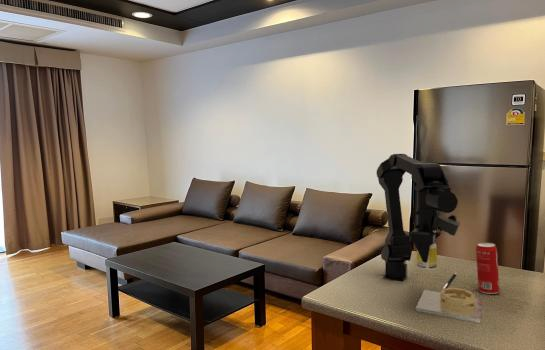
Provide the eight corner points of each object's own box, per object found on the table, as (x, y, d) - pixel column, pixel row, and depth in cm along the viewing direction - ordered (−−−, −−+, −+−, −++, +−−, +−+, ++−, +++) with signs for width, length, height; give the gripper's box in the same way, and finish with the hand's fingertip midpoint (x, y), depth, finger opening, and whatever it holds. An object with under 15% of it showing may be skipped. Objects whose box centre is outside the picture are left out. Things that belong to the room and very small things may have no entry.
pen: (441, 292, 122) (441, 289, 122) (454, 274, 137) (454, 271, 137) (444, 293, 122) (444, 289, 122) (457, 274, 137) (457, 271, 137)
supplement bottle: (436, 265, 116) (436, 233, 115) (437, 271, 111) (437, 237, 110) (416, 264, 118) (417, 232, 117) (416, 270, 113) (416, 236, 112)
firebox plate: (415, 310, 109) (416, 296, 109) (424, 292, 121) (424, 279, 121) (480, 323, 101) (480, 307, 101) (482, 302, 113) (482, 288, 113)
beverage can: (502, 295, 118) (503, 247, 116) (478, 294, 119) (479, 246, 118) (495, 288, 123) (496, 241, 122) (473, 287, 125) (473, 241, 124)
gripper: (453, 214, 100) (452, 273, 102) (461, 203, 116) (461, 254, 118) (408, 211, 106) (408, 267, 108) (422, 201, 122) (422, 250, 123)
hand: (426, 259), depth 114 cm, fingers closed on supplement bottle, 5 cm apart
